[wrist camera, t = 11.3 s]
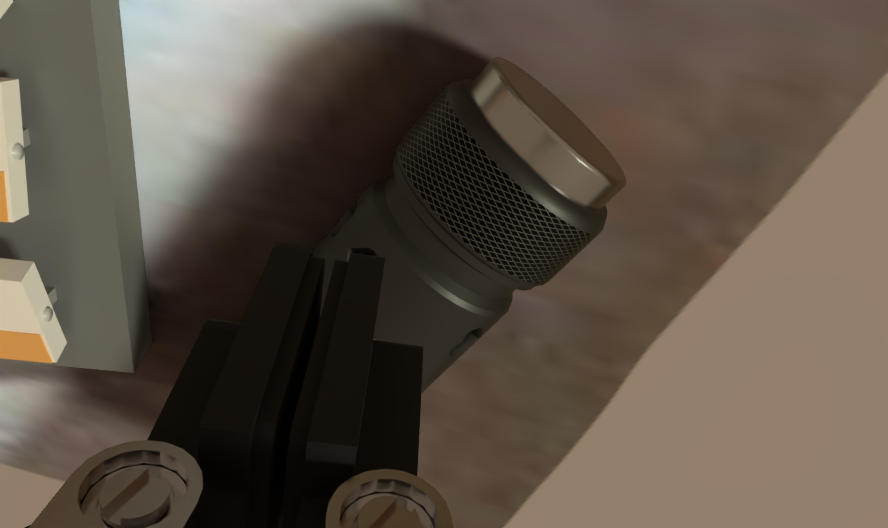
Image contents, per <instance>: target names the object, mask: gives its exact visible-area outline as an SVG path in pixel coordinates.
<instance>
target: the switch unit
mask: <svg viewBox="0 0 888 528" xmlns="http://www.w3.org/2000/svg"><path fill="white" fill-rule="evenodd" d="M0 77H5V78H13V79H19V89H20V102H21V115H22V128H23V142H24V155H25V168H26V181H27V195H28V208H29V215H27V216H25V217H23V218H21V219H19V220H17V221H15V222H0V258H4V259H14V260H23V261H33V262H34V263H35V265H36V268H37V270H38V273H39V275H40V278H41V280H42V283H43V285H44V288H45V290H46V292H47V295H48V297H49V300H50V302H51V305H52V307H53V310H54V312H55V315H56V317H57V319H58V322H59V324H60V327H61V329H62V332H63V334H64V337H65V339H66V341H67V344H66V345H65V347H64V349H63V351H62V353H61V355H60V357H59V359H58V361H57V363H54V362H53V363H43V362H33V361H23V360H13V359H2V358H0V360H6V361H16V362H26V363H36V364H47V365H57V366H67V367H77V368H88V369H98V370H108V371H118V372H129V373H134V372H135V370H136V368H137V367H138V365H139V364H140V362H141V360H142V359H143V357H144V356H145V354H146V352H147V351H148V349H149V347H150V346H151V344H152V334H151V323H150V313H149V303H148V293H147V283H146V273H145V263H144V253H143V242H142V232H141V222H140V212H139V202H138V192H137V182H136V172H135V161H134V151H133V141H132V131H131V121H130V111H129V101H128V91H127V80H126V70H125V60H124V50H123V40H122V30H121V20H120V10H119V0H13V3H12V4H11V5H10V7H9V8H8V9H7V11H6V12H5V13H4V15H3V16H2V17H1V19H0Z"/></svg>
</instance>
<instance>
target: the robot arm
mask: <svg viewBox="0 0 888 528" xmlns="http://www.w3.org/2000/svg"><path fill="white" fill-rule="evenodd" d="M384 265H385V257H378V256H371V255H364V254H357V253H351V254H350V258H349V262H348V261H341V260H335V264H334V267H333V271H332V275H331V279H330V282H329V286H328V290H327V294H326V298H325V301H324V305H323V309H322V313H321V302H322V291H323V280H324V269H325V258H320V257H313V248H312V247H309V246H302V245H295V244H288V243H281V242H276V243H275V245H274V247H273V250H272V252H271V255H270V257H269V259H268V262H267V264H266V266H265V269H264V271H263V274H262V276H261V278H260V281H259V283H258V286H257V288H256V290H255V293H254V295H253V297H252V300H251V302H250V305H249V307H248V309H247V312H246V314H245V316H244V319H243V321H242V322H237V321H230V320H222V319H215V318H210V319H208V320H207V322H206V323H205V325H204V326H203V328H202V330H201V332H200V334H199V337H198V339H197V341H196V343H195V345H194V347H193V349H192V351H191V353H190V355H189V357H188V359H187V361H186V363H185V365H184V367H183V369H182V371H181V373H180V375H179V377H178V379H177V381H176V383H175V385H174V387H173V389H172V391H171V393H170V395H169V397H168V399H167V401H166V403H165V405H164V407H163V409H162V411H161V413H160V415H159V417H158V420H157V422H156V424H155V426H154V428H153V430H152V432H151V434H150V436H149V438H148V440H144V441H134V442H126V443H122V444H119V445H116V446H113V447H110V448H107V449H105V450H103V451H101V452H99V453H97V454H96V455H94V456H92V457H90V458H89V459H87V460H86V461H85V462H84V463H83V464H82V465H81V466H80V467H79V468H78V469H76V470H75V471H74V472H73V473H72V475H71V476H70V477H69V478H68V480H67V481H66V482H65V483H64V484H63V486H62V487H61V488H60V489H59V491H58V492H57V493H56V494H55V496H54V497H53V498H52V499H51V501H50V502H49V503H48V505H47V506H46V507H45V508H44V509H43V511H42V512H41V513H40V514H39V516H38V517H37V518H36V519H35V521H34V522H33V523H32V524H31V525H29V526H27V527H25V528H454V527H453V522H452V517H451V514H450V511H449V508H448V506H447V503H446V501H445V500H444V498H443V497H442V496H441V495H440V493H439V492H438V491H437V490H436V488H434V487H433V486H432V485H430V484H429V483H427V482H426V481H425V480H423V479H422V478H420V477H417V468H418V448H419V428H420V408H421V387H422V367H423V346H415V345H408V344H401V343H393V342H386V341H378V340H374V335H375V328H376V321H377V314H378V307H379V300H380V293H381V286H382V279H383V272H384ZM320 313H321V317H320Z"/></svg>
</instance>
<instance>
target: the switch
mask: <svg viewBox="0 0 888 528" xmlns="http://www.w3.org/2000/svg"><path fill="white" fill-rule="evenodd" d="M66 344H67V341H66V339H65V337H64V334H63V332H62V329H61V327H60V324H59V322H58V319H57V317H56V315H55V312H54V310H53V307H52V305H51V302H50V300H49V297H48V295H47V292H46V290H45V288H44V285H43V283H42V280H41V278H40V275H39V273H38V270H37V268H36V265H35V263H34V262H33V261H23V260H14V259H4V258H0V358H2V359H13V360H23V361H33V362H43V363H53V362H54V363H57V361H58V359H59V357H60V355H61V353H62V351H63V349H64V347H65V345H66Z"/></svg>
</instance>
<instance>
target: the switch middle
mask: <svg viewBox="0 0 888 528" xmlns="http://www.w3.org/2000/svg"><path fill="white" fill-rule="evenodd" d="M27 215H29V208H28V195H27V181H26V168H25V155H24V142H23V128H22V115H21V102H20V89H19V79H13V78H5V77H0V222H15V221H17V220H19V219H21V218H23V217H25V216H27Z"/></svg>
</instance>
